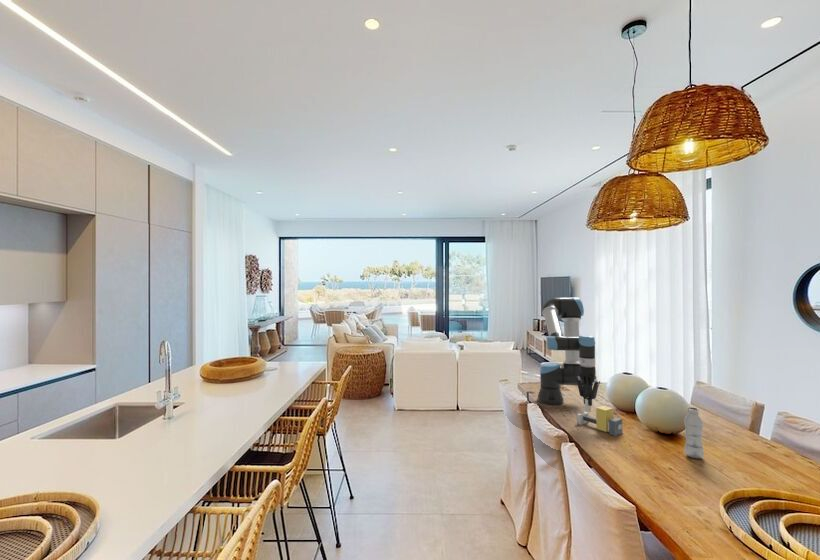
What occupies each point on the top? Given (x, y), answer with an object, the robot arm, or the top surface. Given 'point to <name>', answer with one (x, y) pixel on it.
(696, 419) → the plastic bottle
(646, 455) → the top surface
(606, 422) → the yellow rectangular block
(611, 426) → the grey slider rail
